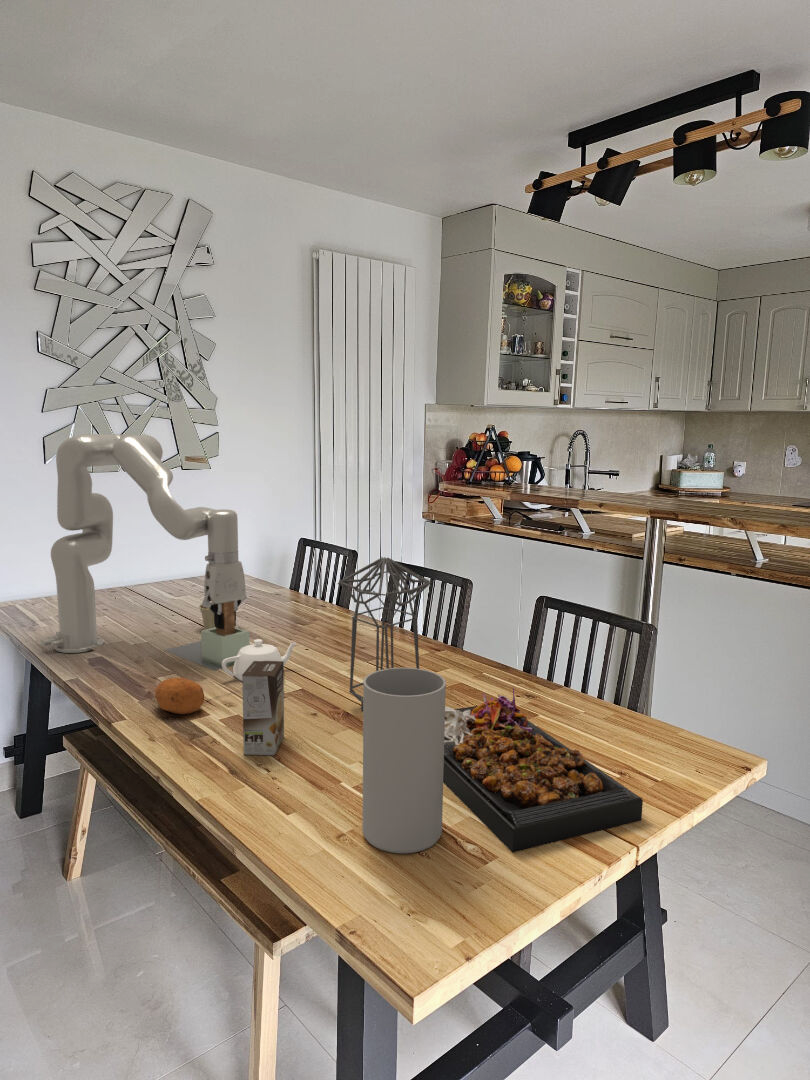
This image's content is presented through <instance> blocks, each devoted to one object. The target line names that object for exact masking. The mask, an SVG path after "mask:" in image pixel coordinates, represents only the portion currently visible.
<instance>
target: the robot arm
mask: <svg viewBox="0 0 810 1080" xmlns="http://www.w3.org/2000/svg"><path fill="white" fill-rule="evenodd" d="M163 452H164V451H163V447H162V444H161V443H160V442H159V441H158V439H157V438H155V437H154V436H151V435H148V434H119V433H97V434H96V433H89V434H88V433H87V434H79V435H78V434H77V435H74V436H71V437H68V438H67V439H65V440H63V442H62V443H61V444H60V445H59V447H58V449H57V452H56V456H55V463H56V465H55V466H56V470H57V471H56V472H57V491H56V493H57V494H56V495H57V497H56V498H57V499H56V501H57V502H56V503H57V505H56V508H57V510H56V514H57V515H56V516H57V517H56V518H57V521H58V524H59V526H60V527H61V528H62V529H64V530H66V531H72V532H73V531H81V530H82V532H80V533H79V532H78V533H75V534H68V535H66V536H65V535H64V536H62V537H60V538H58V539H57V540H56V541H55V542H54V543H53V544H52V545H51V548H50V558H51V559H50V560H51V564H52V567H53V570H54V575H55V581H56V583H55V584H56V595H57V610H58V613H57V614H58V627H59V631H57V632H56V631H55V635H53V636H52V637H47V638H43V639H41V645H42V647H47V646H51V647H54V650H55V651H56V652H60V653H64V654H78V653H86V652H90V651H93V648H96V647H100V646H103V645H104V639H102V638H101V637H99V636H98V630H97V626H98V625H97V624H98V623H97V609H96V590H95V588H96V587H95V582H94V581H95V580H94V578H93V576H92V574H91V572H90V569H89V567H90V566H95V565H98V564H101V563H103V562H105V561H107V560H108V559H109V557H110V555H111V553H112V550H113V538H114V537H113V531H114V530H113V529H114V512H113V511H114V510H113V506H112V505H111V502H110V501H109V499H108V498H107V497H106V496H105V495H103V494H101V493H98V492H97V493H96V492H93V480H92V476H91V473H90V471H89V469H88V468H90V467H104V466H119V467H121V468H122V469H123V471H125V472H126V474H128V476H129V477H130V478H131V479H132V480H133V481H134V483H136V484H137V486H139V487H140V489H141V490H142V491H143V492H144V493H145V495H146V499H147V503H148V507H149V508H150V509H149V510H150V511H151V514H152V516H153V517H154V519H155V520H156V521H157V522H158V523H159V525H161V527H162V528H163V529H164V530H165V531H167V533H168V534H170V536H172V537H174V538H175V539H177V540H181V541H187V540H192V539H195V538H199V537H204V536H207V547H208V548H207V551H208V552H207V555H205V556H204V560H205V562H208V563H206V567H205V573H204V584H203V585H204V586H203V588H204V589H203V593H204V598H203V600H202V603H201V604H202V606H204V607H206V608H209V609H210V610H211V611H212V613H214V624H215V627H216V628H219V629H224V615H223V614H222V603H226V602H231V601H234V613H235V627H237V611H238V610H239V606H241V604H242V602H244V601H245V600H246V599H247V598H248V597H247V594H246V592H247V591H246V588H247V587H246V580H245V571H244V567H243V563H242V561H240V560H239V531H238V530H239V529H238V528H239V526H238V525H239V524H238V513H237V512H236V511H235V510H232V509H226V508H225V509H222V508H221V509H215V508H210V507H206V506H205V507H203V506H200V507H193V508H187V509H184V508H183V507H182V506H181V505H180V503H178V502H177V501H176V500H175V498H174V497H173V496H172V494H171V492H170V490H169V488H170V485H171V483H172V481H173V479H174V475H173V472H172V471H171V470H170V468H168V467H167V466H166V464H165V463H164V462H162V458H163V456H164V455H163ZM210 602H212V604H210Z"/></svg>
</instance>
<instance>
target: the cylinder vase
mask: <svg viewBox="0 0 810 1080" xmlns="http://www.w3.org/2000/svg"><path fill="white" fill-rule="evenodd" d="M362 683H363V685H362V686H363V689H362V690H363V694H362V695H363V710H362V712H363V715H362V718H363V720H362V725H363V726H362V825H361V826H362V834H363V836H364V838H365V839H366V840H367V842H368V843H370V845H372V846H374V847H375V848H376V849H378V850H381V851H383V852H388V853H392V854H393V853H394V854H401V855H402V854H413V853H414V854H415V853H418V852H422V851H424V850H427V849H429V848H430V847H432V846H434V845H435V844H436V843H437V842H438V841H439V840H440V837H441V836H442V832H443V810H444V809H443V805H444V803H443V801H444V783H443V771H444V733H445V708H446V692H447V691H446V689H447V688H446V684H447V682H446V680H445V678H444V677H443V676H442V675H440V674H438V673H437V672H433V671H430V670H428V669H422V668H419V669H416V667H394V668H391V667H389V669H386V668H384V669H383V670H380V669H379V671H376V670H375V671H373V672H371V673H369V674H367V675H366V676H365V677H364V678H363V682H362Z"/></svg>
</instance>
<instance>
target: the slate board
mask: <svg viewBox="0 0 810 1080" xmlns="http://www.w3.org/2000/svg"><path fill="white" fill-rule="evenodd" d="M163 651H164V652H167V653H170V654H171V655H175V656H177V657H179V658H182V659H185V660H187V661H190V662H192V663H195V664H197V665H200V666H201V667H204V668H206V669H210V670H212V671H214V672H215V671H218V670H223V668H222V667H220V666H218V665H215V664H213V663H210V662H208V661H205V660H203V659H202V642H201V640H199V641H196V642H195V641H194V642H190V643H186V644H182V645H177V646H174V647H171V648H169V647H168V648H166V649H163ZM229 667H233V665H230V666H227V668H229Z"/></svg>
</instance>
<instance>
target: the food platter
mask: <svg viewBox="0 0 810 1080" xmlns="http://www.w3.org/2000/svg"><path fill="white" fill-rule="evenodd" d="M482 695H483V702H482V703H481V704H479V705H475V706H474V705H473V706H467V707H462V708H461V707H460V708H455V709H454V708H451V707H449V706H445V733H444V771H443V785H445V786H446V787H447V788H448V789H449V790H450V791H451V792H452V793H453V794H454V795H455V796H456V797H457V798H458V799H459V800H460V801H461V802H462V803H463V805H465V806H466V807H467V808H468V809H469V811H470V812H471V813H473V815H475V816H476V818H478V820H480V822H481V823H483V824H484V826H486V828H487V829H488V830H489V831H490V832H491V833H492V834H493V835H495V837H496V838H497V839H498V840H499V841H500V842H501V843H502V844H503V845H504V846H505V847H506V848H507V849H508V850H509V851H510V853H512V854H513V853H518V852H522V851H525V850H530V849H532V848H537V847H541V846H546V845H550V844H553V843H557V842H562V841H565V840H568V839H569V840H570V839H574V838H577V837H582V836H586V835H589V834H594V833H598V832H601V831H605V830H609V829H613V828H618V827H620V826H625V825H629V824H633V823H634V824H635V823H636V822H641V821H642V818H643V817H642V816H643V806H644V801H643V798H642V797H640V796H639V795H637V794H636V793H635V792H633V791H632V790H630V789H629V788H627V787H626V786H625V785H623V784H621V783H620V782H618V781H617V780H615V779H614V778H613V777H611V776H610V775H609V774H606V773H605V772H604V771H602V770H601V769H600V768H598V767H597V766H595V765H594V764H592V763H591V762H589V761H588V760H587V759H585V758H584V757H583V753H581V752H580V750H579V749H570V748H569V747H567V746H566V745H564V744H563V743H561V742H560V741H559V740H557V739H556V738H554V736H551V735H550V734H548V733H547V732H545V731H544V730H542V729H541V728H540V727H538V726H537V725H535V724H534V723H533V722H531V721H529V720H528V719H527V716H526V715H525V714H524V713H521V710H520V708H519V707H517V704H516V698H515V686H512V700H510V699H509V698H508V697H506V696H505V695H501V694H497V697H498V698H495V699H494V698H493V697H491V698H490V700H487V697H486V694H485V692H483V694H482Z"/></svg>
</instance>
